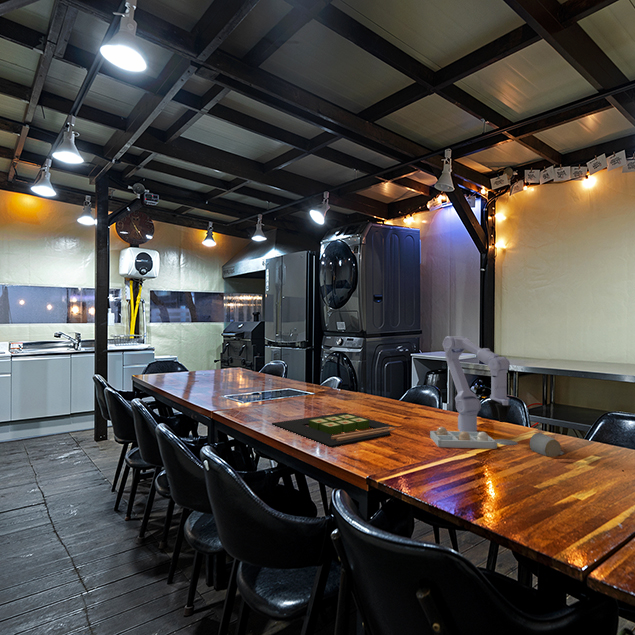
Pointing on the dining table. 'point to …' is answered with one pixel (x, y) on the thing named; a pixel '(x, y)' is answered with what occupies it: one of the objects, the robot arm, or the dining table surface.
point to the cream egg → (482, 436)
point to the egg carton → (454, 441)
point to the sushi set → (336, 428)
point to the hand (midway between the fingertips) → (498, 419)
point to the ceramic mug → (545, 445)
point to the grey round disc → (506, 442)
